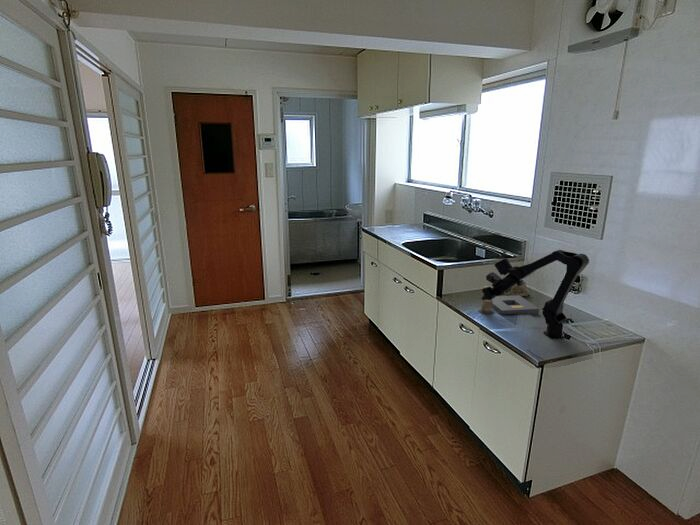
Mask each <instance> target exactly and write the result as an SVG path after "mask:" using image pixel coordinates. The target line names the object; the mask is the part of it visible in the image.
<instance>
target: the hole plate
mask: <svg viewBox="0 0 700 525" xmlns="http://www.w3.org/2000/svg"><path fill="white" fill-rule="evenodd" d="M509 304H510V305H509ZM492 309H494V310H496V312H498V313H499V314H500V315H513V314H514V315H519V314H529V315H530V314H533V315H540V314H539V313H540V308H539V307H538V306H536V305H535V304H533V303H532V302H530V301H528V300H527V299H525V297H521V296H519V295H517V296H508V295H500V296H496V297H495V298H493V302H492Z"/></svg>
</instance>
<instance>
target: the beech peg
mask: <svg viewBox="0 0 700 525" xmlns="http://www.w3.org/2000/svg"><path fill="white" fill-rule="evenodd" d="M485 287H488V285H485V286H483V288H485ZM489 287H491V288H493V286H489ZM483 288H482V289H483ZM492 290H493V289H492ZM483 296H484V293H483V292H482V297H483ZM492 302H493V299H491V300H482V299H481V308H480V309H481V312H483V313H487V314H488V313H491V312H492V310H493V307H492Z"/></svg>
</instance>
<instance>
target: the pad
mask: <svg viewBox="0 0 700 525" xmlns="http://www.w3.org/2000/svg"><path fill="white" fill-rule="evenodd" d="M481 309H482V308H479V309H478V312H479V313H480V314H482V315H490V316H492V315H495V313H496V312H495V311H494V310H493V309H492V312H491V313H488V314H487V313H483V312H481Z"/></svg>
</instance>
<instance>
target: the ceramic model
mask: <svg viewBox="0 0 700 525" xmlns="http://www.w3.org/2000/svg"><path fill="white" fill-rule="evenodd" d="M521 280H523V285H521V286H518V285H517V284H515V285H514V286H512V288H511V291H509V292H508V293H505V292H504V295H505V296H517V295H519V296H521V297H522V296H526V297H529V296H528V295H530V291H529V290H528V289H527V283H526V281H525V280H524V278H523V279H521ZM522 298H523V297H522Z"/></svg>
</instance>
